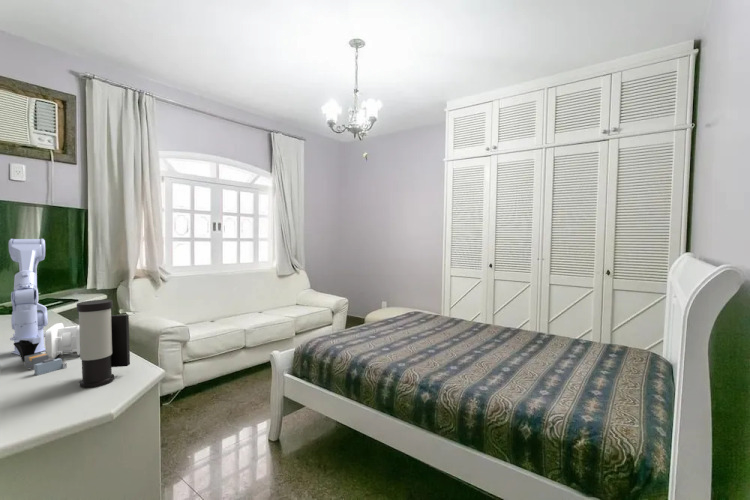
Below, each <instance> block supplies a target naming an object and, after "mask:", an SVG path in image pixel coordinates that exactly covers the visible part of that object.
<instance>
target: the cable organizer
mask: <svg viewBox="0 0 750 500" xmlns="http://www.w3.org/2000/svg"><path fill="white" fill-rule="evenodd" d="M44 347H45V348H46V351H45V354H47V355H48V358H49V359H57V357H58V356H59V355H61V356H63V353H66V352H67V353H68V352H71V353H72V354H74V352H76V354H77V356H80V334H79V324H78V325H74V326H73V325H72V326H64V324H63V322H59V323H58V322H57V323H55V324H53V325H52V326H51V327H49V328H48V329H47V330H46V331H44Z"/></svg>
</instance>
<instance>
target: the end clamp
mask: <svg viewBox="0 0 750 500" xmlns="http://www.w3.org/2000/svg"><path fill="white" fill-rule="evenodd" d="M62 362H63V359H62V358H59V357H58V358H55V359H48V360H44V361H43V362H42V363H38V364H34V370H33V371H34V375H36V376H40V375H43V374H47V373H51V372H55V371H57V370H61V369H63V368H62Z"/></svg>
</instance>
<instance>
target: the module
mask: <svg viewBox="0 0 750 500" xmlns="http://www.w3.org/2000/svg"><path fill="white" fill-rule="evenodd" d="M24 358H25V362H24V368H26V369H29V370H32V371H34V364H38V363H42V362H43V361H44V360H48V359H49V358H48V355H47V354H46V353H41V352H38V353H34V354H32V355H28V356H24Z"/></svg>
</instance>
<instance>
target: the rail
mask: <svg viewBox="0 0 750 500" xmlns="http://www.w3.org/2000/svg"><path fill="white" fill-rule="evenodd" d="M67 365H68V364H67V362H64V361H62V369H66V368H67V367H68V366H67Z"/></svg>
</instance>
